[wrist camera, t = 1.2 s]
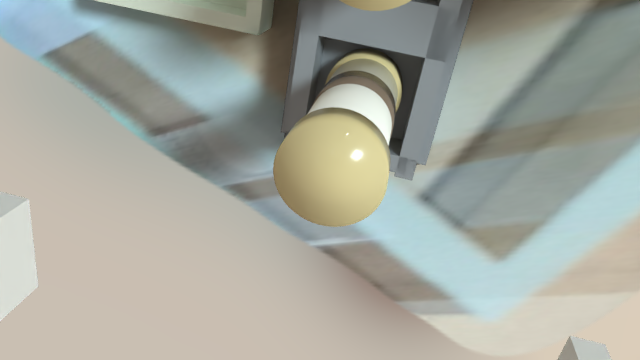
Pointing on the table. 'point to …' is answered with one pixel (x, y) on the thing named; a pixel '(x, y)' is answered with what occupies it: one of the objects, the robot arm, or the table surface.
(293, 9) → the table surface
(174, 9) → the parts tray
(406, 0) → the fuse
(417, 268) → the table surface
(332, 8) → the grey divided tray
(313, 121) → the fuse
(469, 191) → the table surface
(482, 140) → the table surface
